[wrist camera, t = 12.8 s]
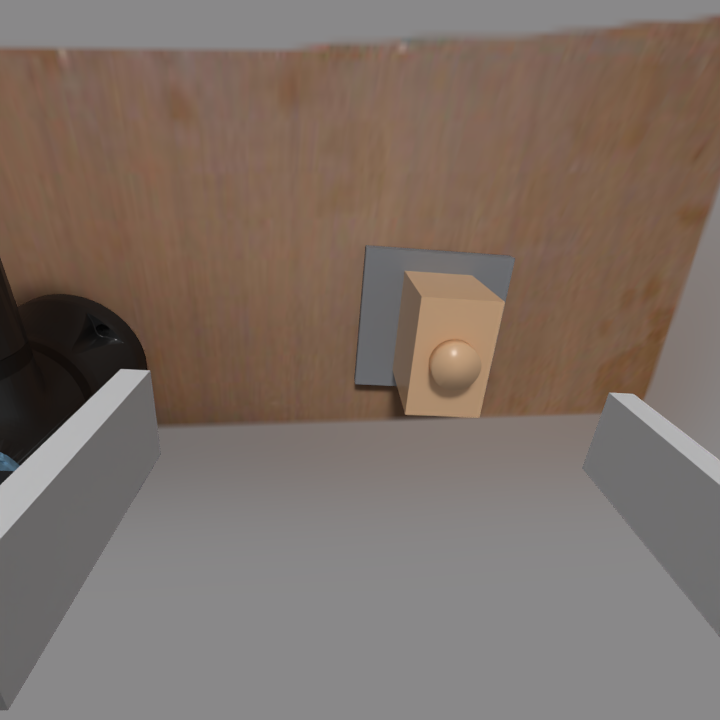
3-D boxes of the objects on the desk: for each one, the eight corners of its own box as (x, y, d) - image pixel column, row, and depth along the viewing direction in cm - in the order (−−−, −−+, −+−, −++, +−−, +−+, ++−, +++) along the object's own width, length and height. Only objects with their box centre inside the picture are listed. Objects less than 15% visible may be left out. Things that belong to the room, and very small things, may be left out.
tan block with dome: (404, 270, 46) (425, 302, 36) (471, 275, 47) (511, 307, 36) (392, 370, 51) (407, 423, 41) (453, 373, 52) (484, 426, 41)
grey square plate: (354, 378, 53) (358, 422, 44) (365, 245, 47) (373, 265, 38) (481, 384, 54) (511, 428, 45) (509, 255, 48) (551, 277, 39)
